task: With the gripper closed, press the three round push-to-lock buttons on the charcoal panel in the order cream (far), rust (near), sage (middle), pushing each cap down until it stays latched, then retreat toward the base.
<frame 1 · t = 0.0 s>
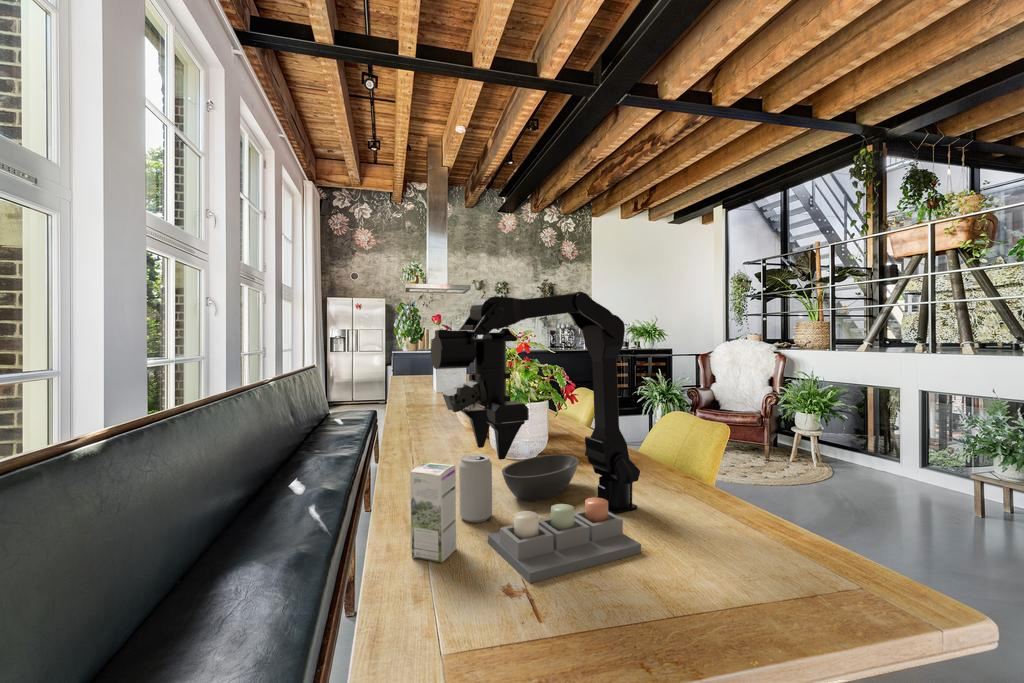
hand: (490, 453, 89), 15 cm above the table, fingers open, 9 cm apart
bowl: (541, 493, 112), on the table
cream button: (526, 525, 80), point 5 cm above the table, slide at 0.0 cm
sage button: (562, 517, 83), point 5 cm above the table, slide at 0.0 cm
syrup box: (434, 554, 82), on the table
beverage can: (475, 518, 97), on the table
rust button: (596, 510, 87), point 5 cm above the table, slide at 0.0 cm
panel: (562, 547, 84), on the table
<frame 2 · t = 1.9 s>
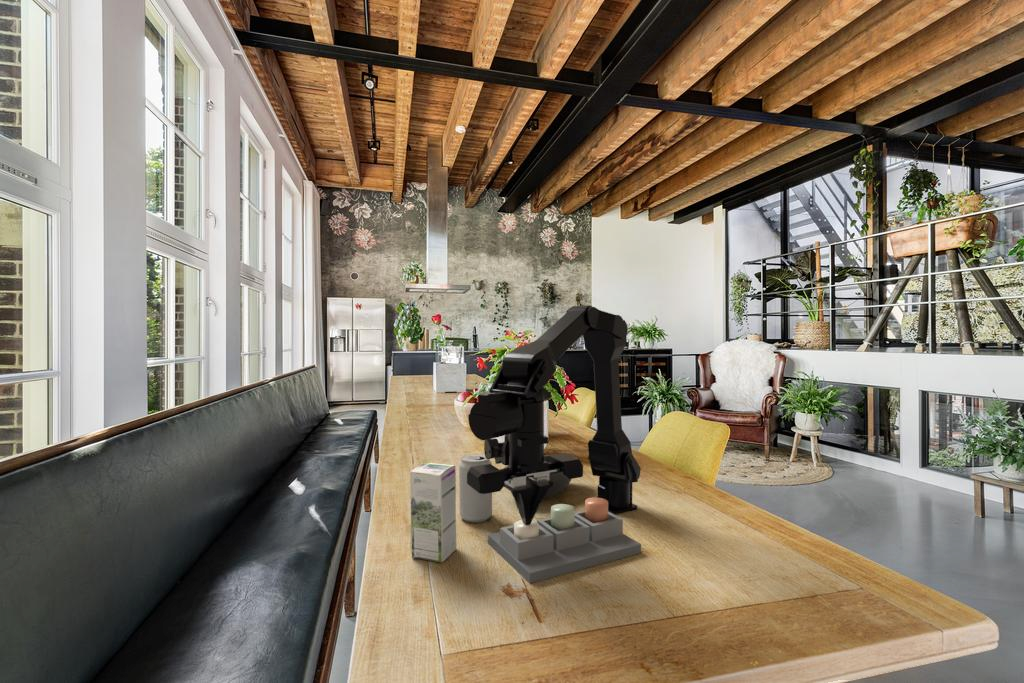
hand: (526, 524, 80), 5 cm above the table, fingers closed, pressing on cream button
cream button: (526, 534, 80), point 4 cm above the table, slide at 1.4 cm, touching gripper
everything else where it was.
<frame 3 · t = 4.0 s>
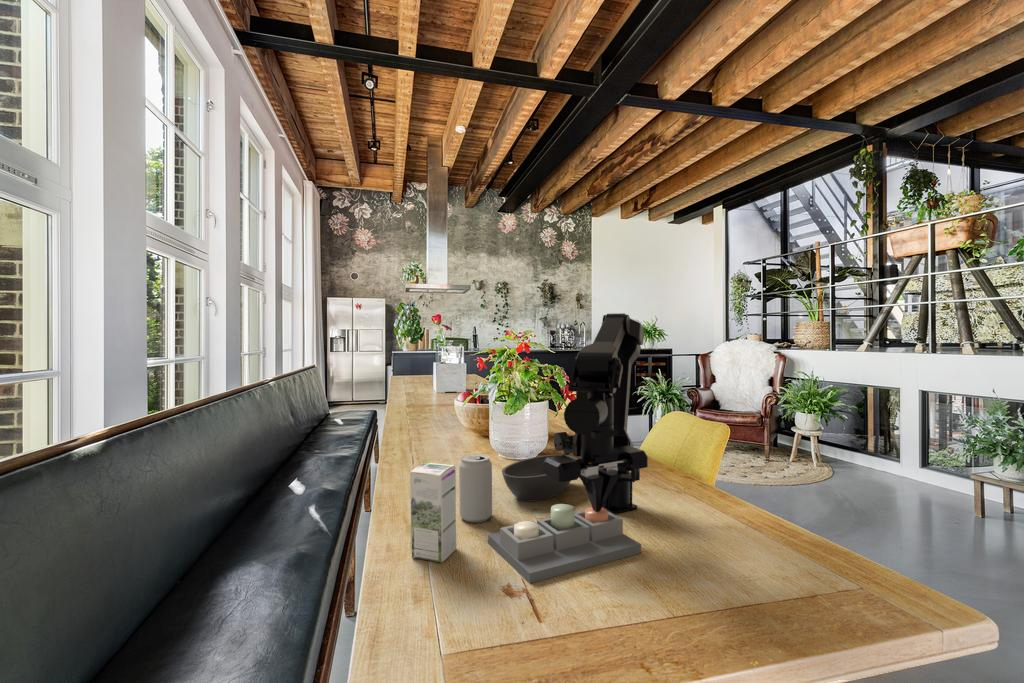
hand: (596, 510, 87), 5 cm above the table, fingers closed, pressing on rust button
cream button: (526, 535, 80), point 3 cm above the table, slide at 1.7 cm
rust button: (596, 520, 87), point 4 cm above the table, slide at 1.7 cm, touching gripper
everything else where it was.
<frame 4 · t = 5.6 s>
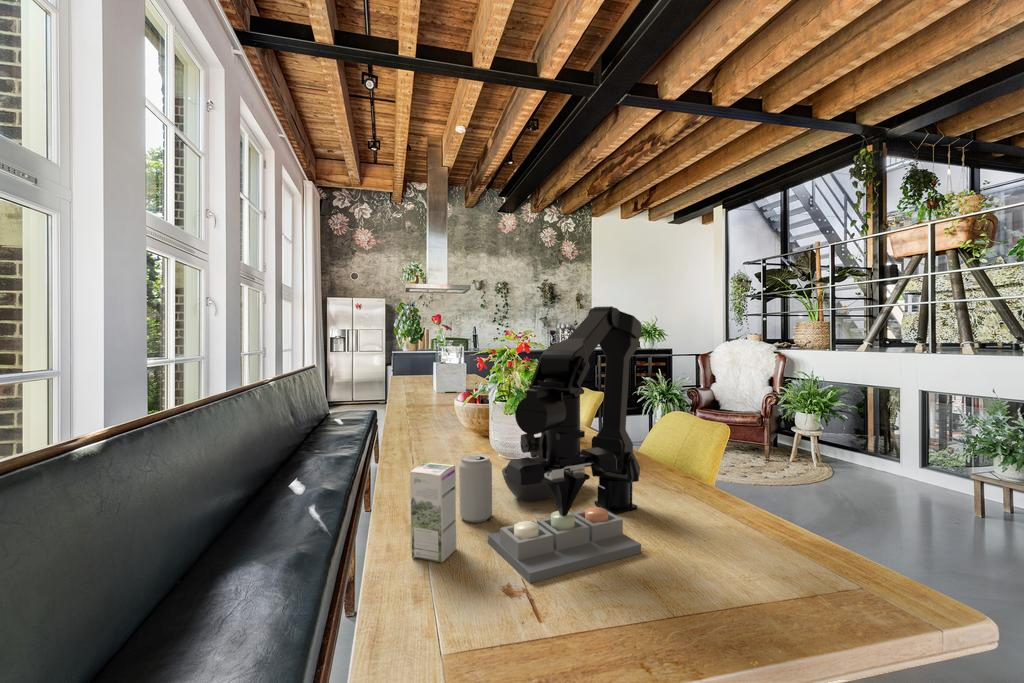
hand: (563, 515, 84), 6 cm above the table, fingers closed, pressing on sage button
sage button: (562, 524, 83), point 4 cm above the table, slide at 1.2 cm, touching gripper
rust button: (596, 520, 87), point 3 cm above the table, slide at 1.8 cm
everything else where it was.
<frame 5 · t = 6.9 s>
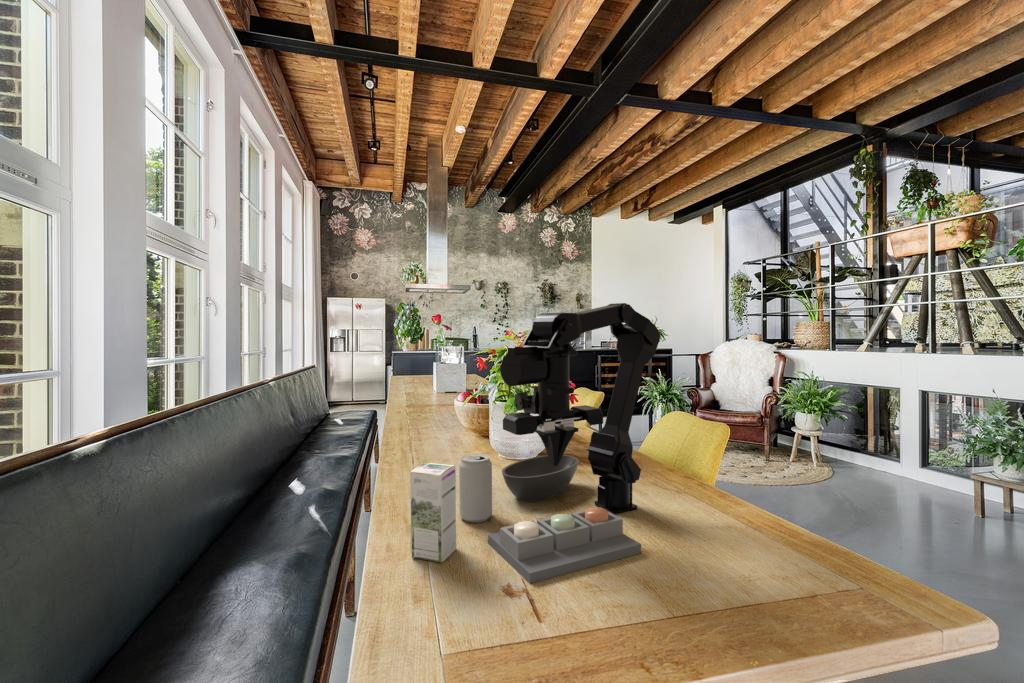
hand: (554, 465, 91), 12 cm above the table, fingers closed
sage button: (562, 527, 84), point 3 cm above the table, slide at 1.8 cm
everything else where it was.
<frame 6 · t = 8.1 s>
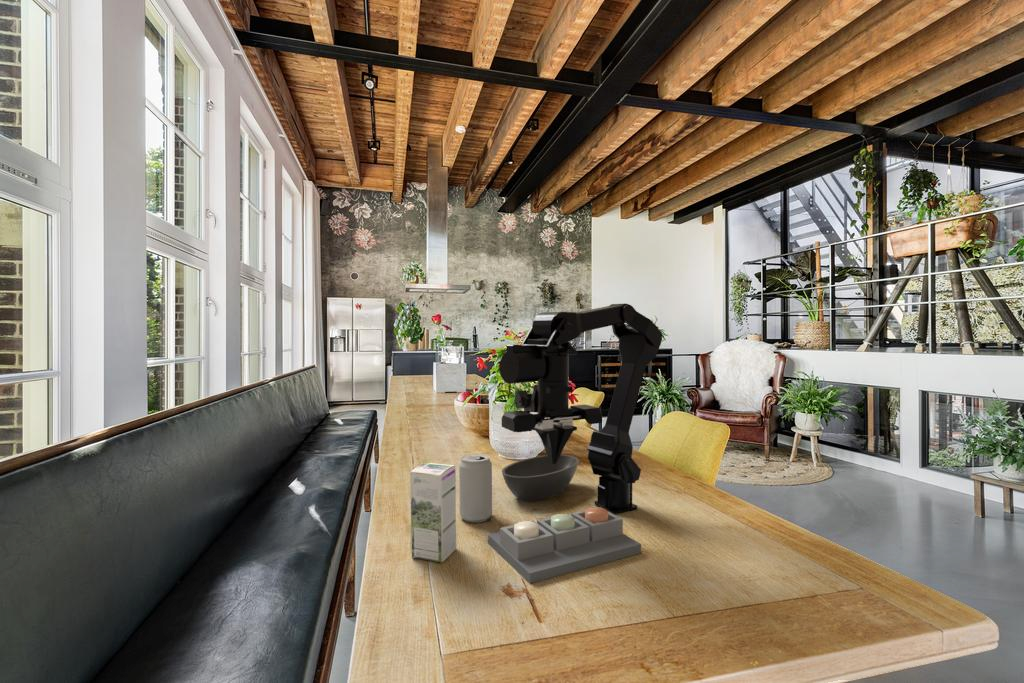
hand: (553, 463, 92), 12 cm above the table, fingers closed
nothing on the table moved.
at the end: cream button slide at 1.7 cm; rust button slide at 1.8 cm; sage button slide at 1.8 cm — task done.
